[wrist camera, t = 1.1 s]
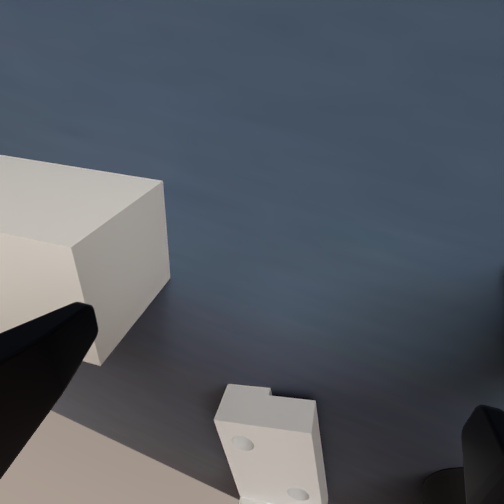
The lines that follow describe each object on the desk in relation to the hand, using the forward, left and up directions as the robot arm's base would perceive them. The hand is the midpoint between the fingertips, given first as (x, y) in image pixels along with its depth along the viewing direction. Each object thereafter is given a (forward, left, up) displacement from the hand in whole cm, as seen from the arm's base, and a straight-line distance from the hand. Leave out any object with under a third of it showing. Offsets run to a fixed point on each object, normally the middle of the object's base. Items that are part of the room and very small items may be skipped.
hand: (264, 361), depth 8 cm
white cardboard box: (+2, +16, -12) cm, 21 cm away
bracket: (-22, +8, -13) cm, 26 cm away
